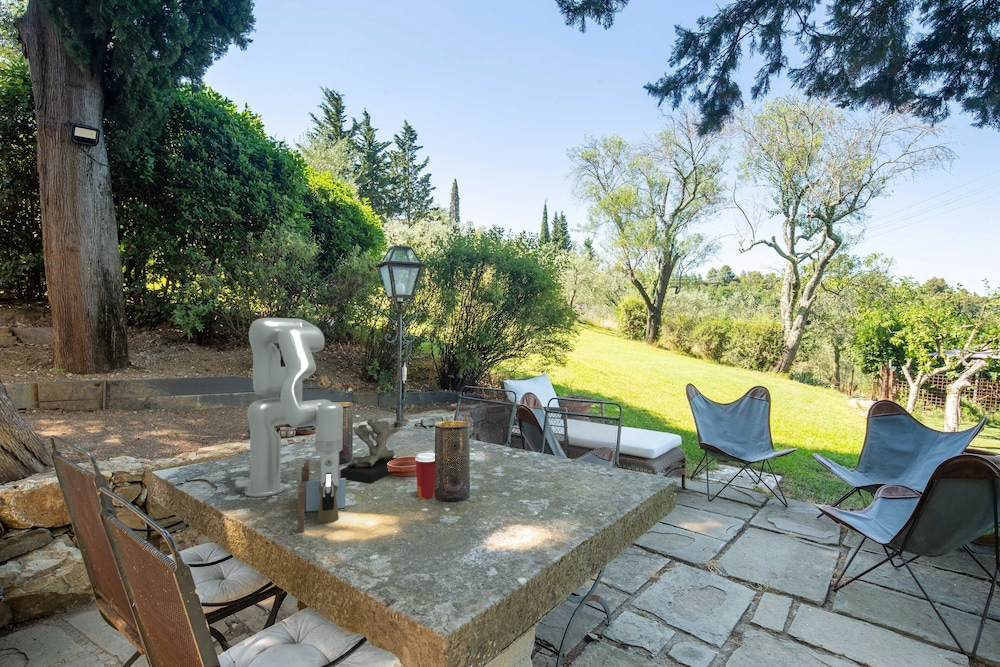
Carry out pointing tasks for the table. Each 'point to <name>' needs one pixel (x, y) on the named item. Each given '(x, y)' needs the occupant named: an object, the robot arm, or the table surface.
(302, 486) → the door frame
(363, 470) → the coral
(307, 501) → the door
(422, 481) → the paper cup
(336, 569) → the table surface
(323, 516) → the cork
